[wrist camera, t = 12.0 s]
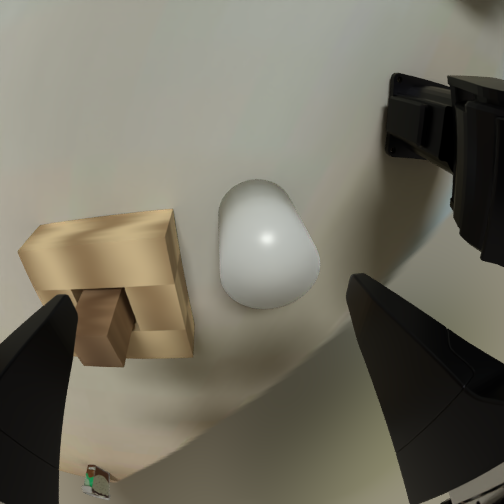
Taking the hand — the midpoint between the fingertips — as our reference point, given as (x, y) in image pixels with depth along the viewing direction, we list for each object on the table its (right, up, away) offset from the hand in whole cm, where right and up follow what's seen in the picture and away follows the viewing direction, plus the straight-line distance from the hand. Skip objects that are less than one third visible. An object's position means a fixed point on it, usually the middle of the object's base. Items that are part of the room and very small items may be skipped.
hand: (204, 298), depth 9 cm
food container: (-47, -65, +53) cm, 96 cm away
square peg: (-10, -1, +15) cm, 18 cm away
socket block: (-10, -1, +15) cm, 18 cm away
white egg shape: (+2, +4, +13) cm, 14 cm away
